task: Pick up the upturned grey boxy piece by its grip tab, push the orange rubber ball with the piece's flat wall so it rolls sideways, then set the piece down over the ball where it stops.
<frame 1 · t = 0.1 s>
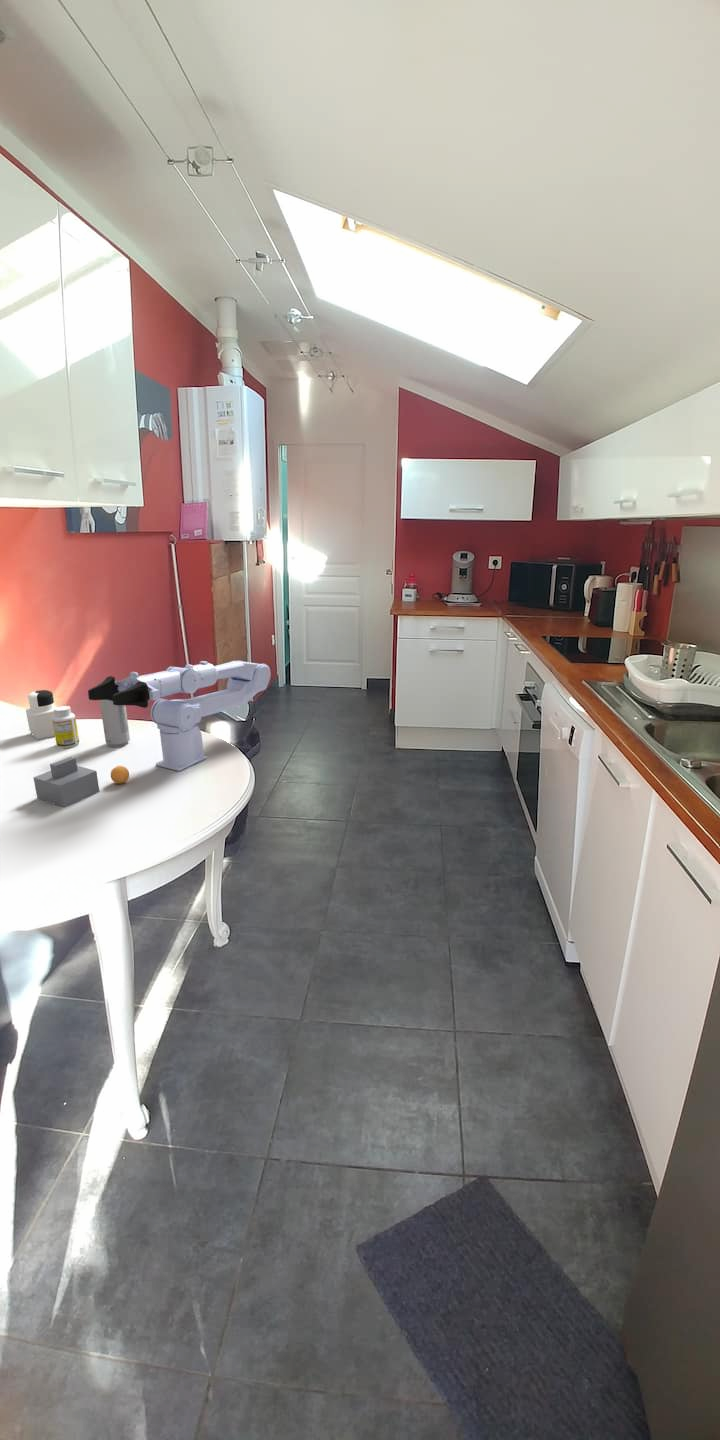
hand: (101, 697, 141), 22 cm above the table, tool horizontal, fingers open, 7 cm apart
supplement bottle: (68, 746, 177), on the table
grey boxy piece: (68, 794, 147), on the table
ball: (119, 774, 152), on the table
energy drink can: (118, 744, 177), on the table
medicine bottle: (47, 734, 185), on the table
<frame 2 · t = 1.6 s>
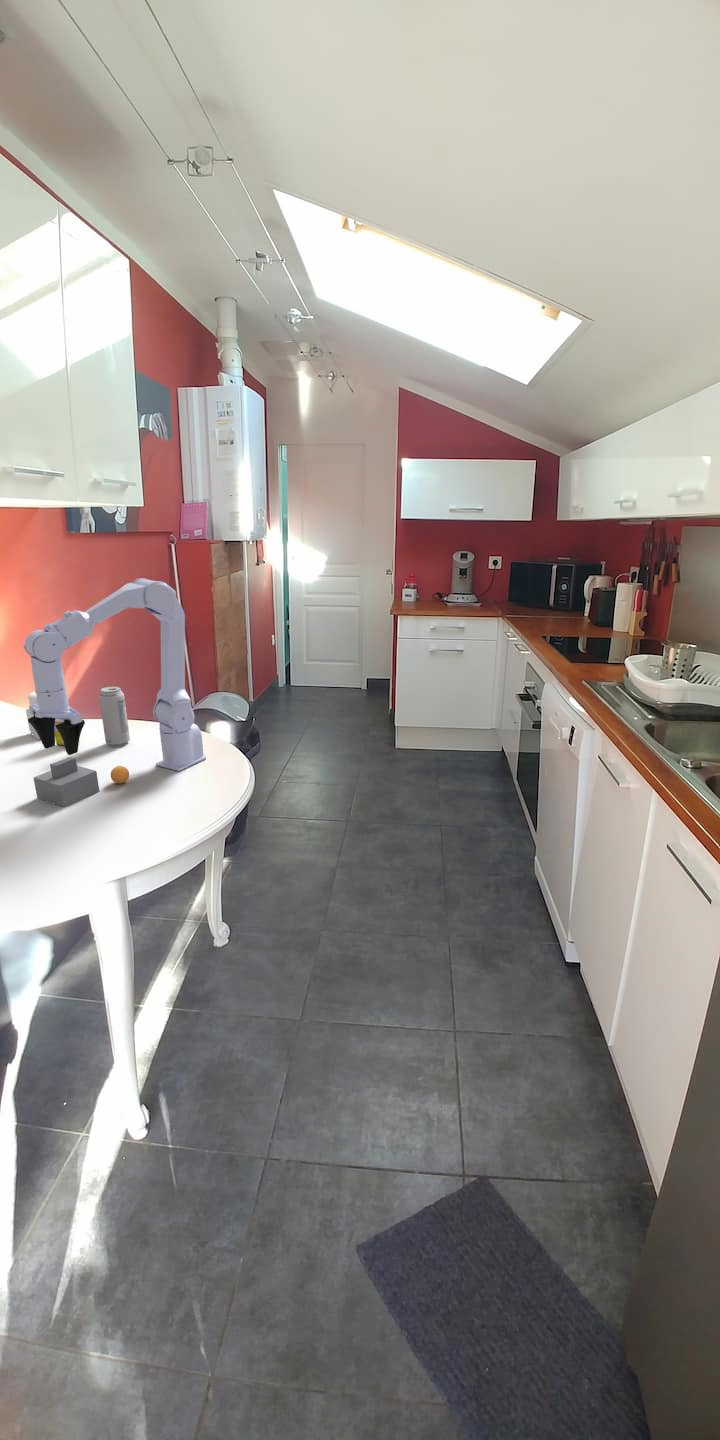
hand: (61, 750, 144), 10 cm above the table, tool pointing down, fingers open, 7 cm apart
nothing on the table moved.
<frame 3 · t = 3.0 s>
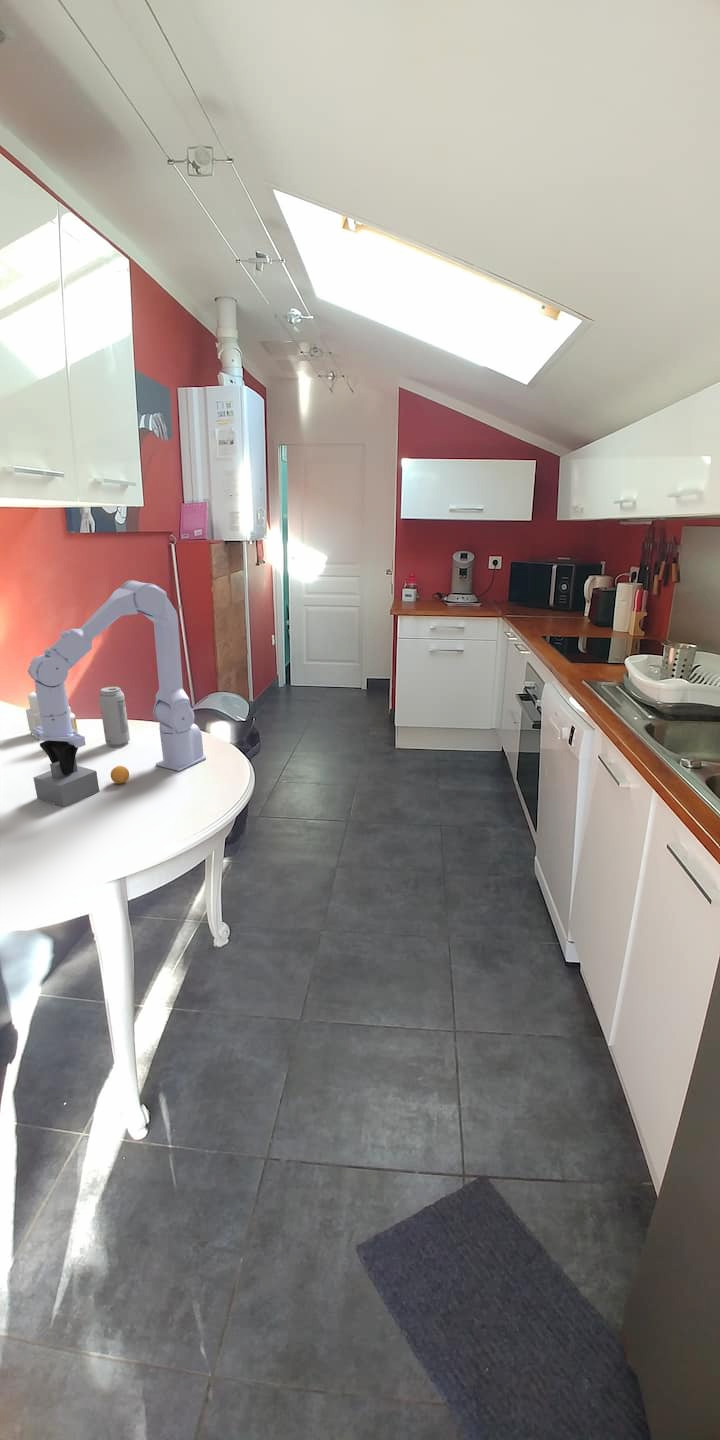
hand: (64, 772, 145), 5 cm above the table, tool pointing down, fingers closed on grey boxy piece
grey boxy piece: (68, 794, 147), on the table, touching gripper
everything else where it was.
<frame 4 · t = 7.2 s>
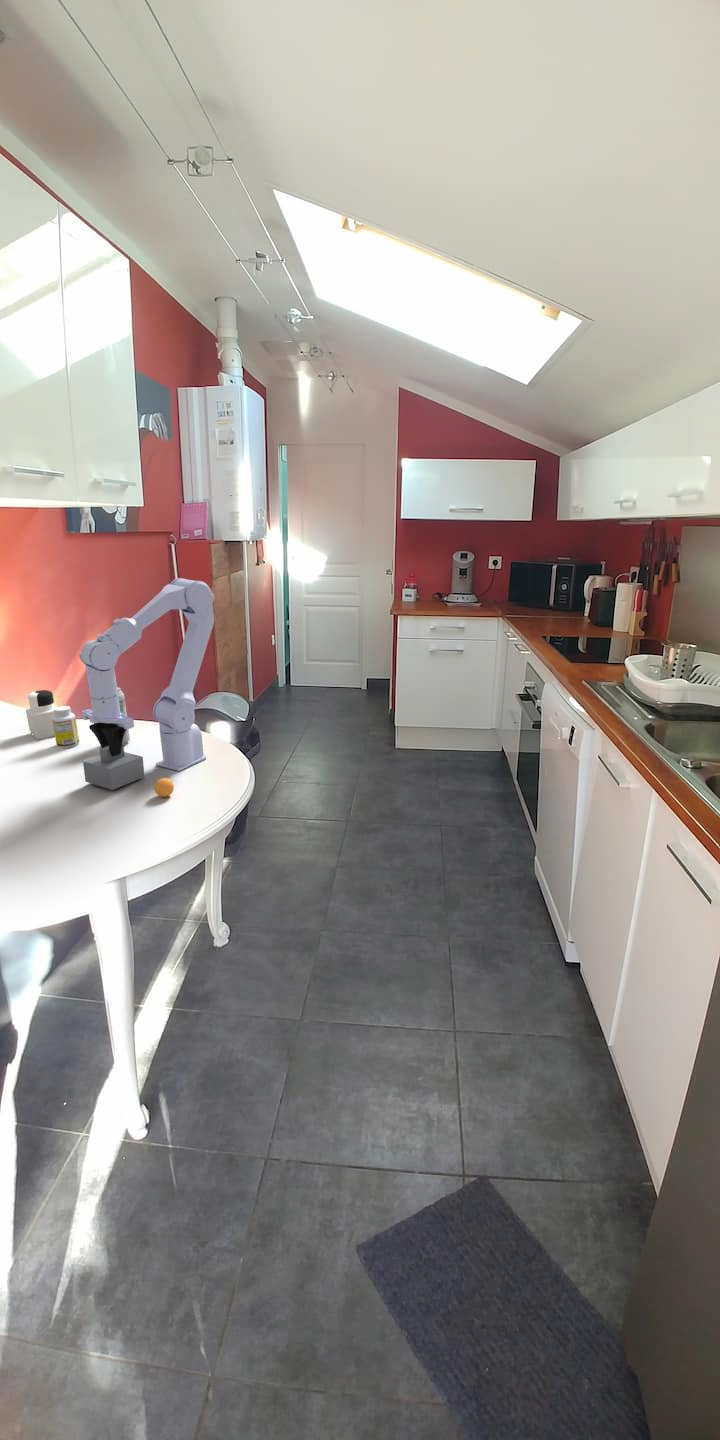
hand: (112, 753, 151), 7 cm above the table, tool pointing down, fingers closed on grey boxy piece
grey boxy piece: (115, 779, 153), point 1 cm above the table, touching gripper
ball: (164, 787, 145), on the table
everything else where it was.
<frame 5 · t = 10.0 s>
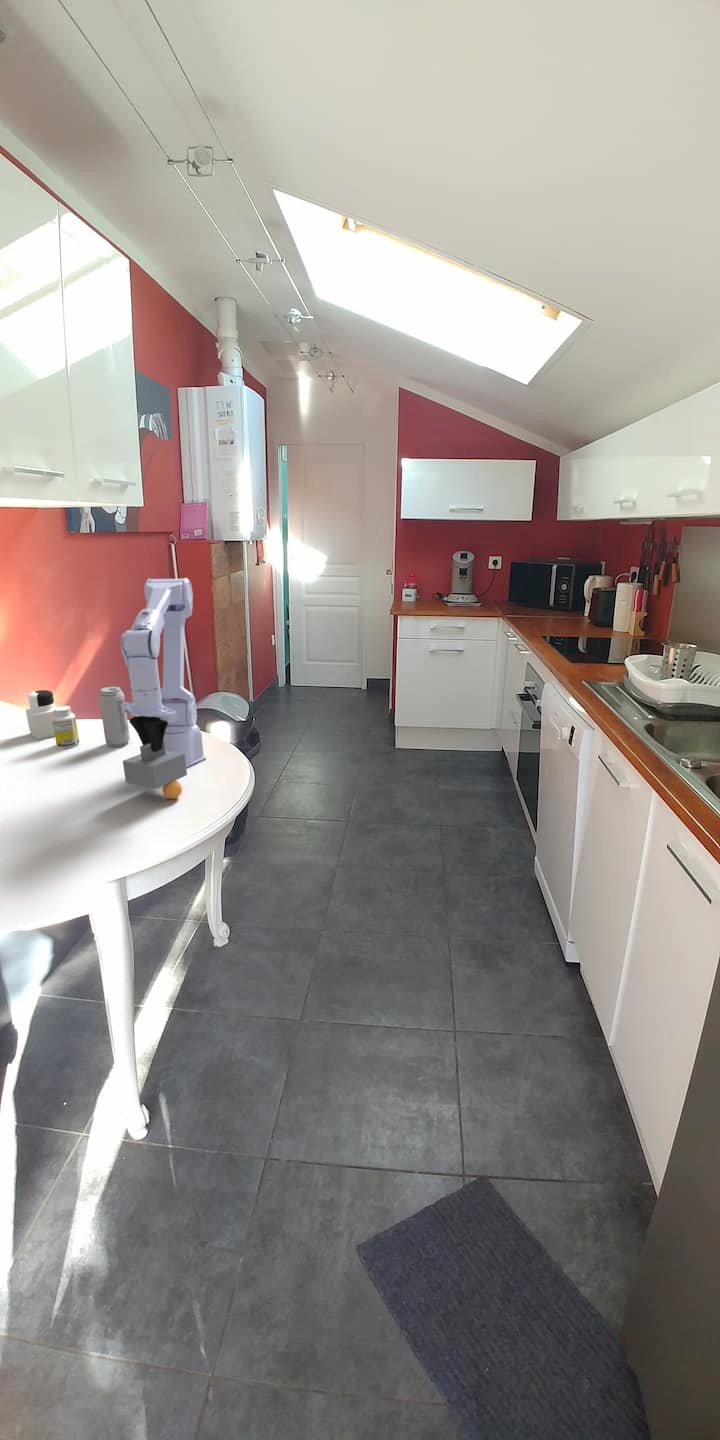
hand: (153, 749, 143), 10 cm above the table, tool pointing down, fingers closed on grey boxy piece
grey boxy piece: (156, 778, 145), point 4 cm above the table, touching ball, gripper
ball: (172, 789, 144), on the table, touching grey boxy piece
everything else where it was.
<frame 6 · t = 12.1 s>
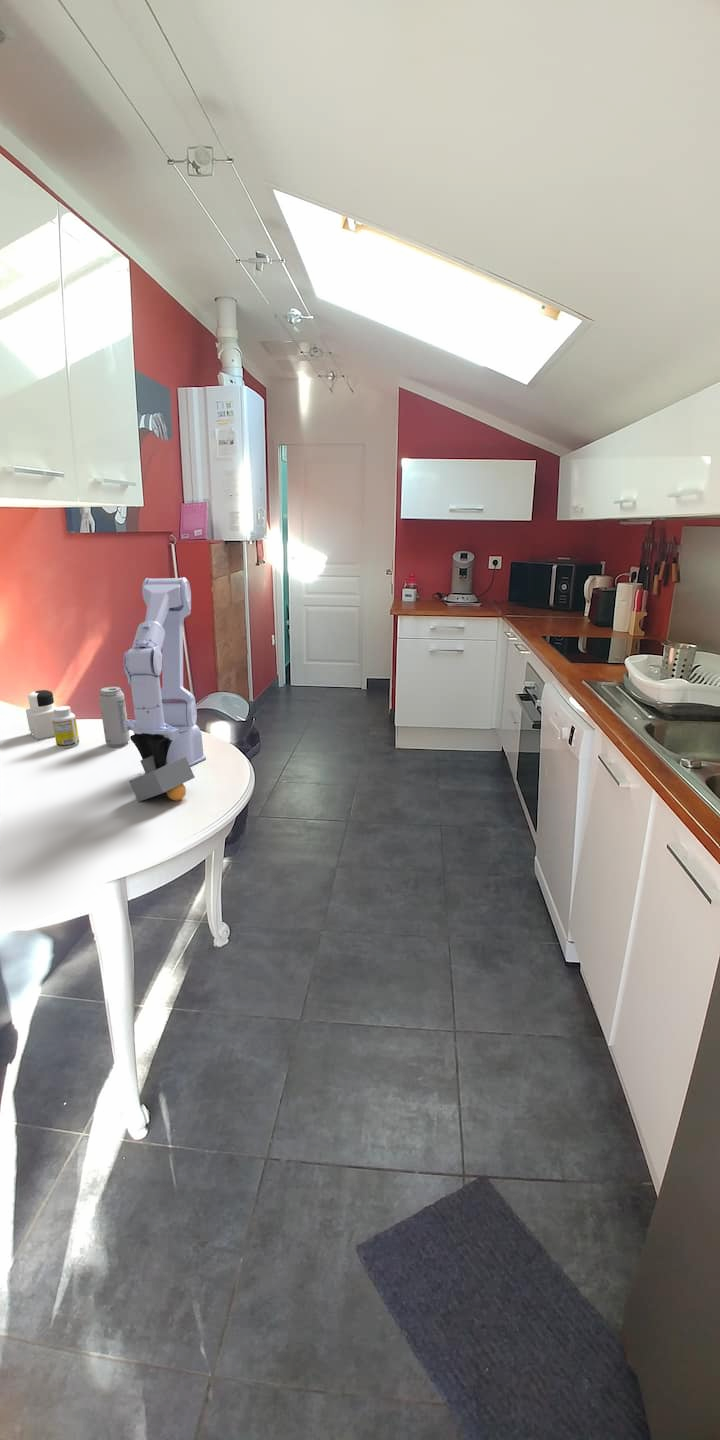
hand: (155, 766, 144), 7 cm above the table, tool pointing down, fingers closed on grey boxy piece, 3 cm apart
grey boxy piece: (166, 789, 144), point 2 cm above the table, tilted 26°, touching ball, gripper
ball: (176, 791, 143), on the table, touching grey boxy piece
everything else where it was.
when the fingers open (6 cm above the table, at t = 12.2 s): grey boxy piece moves 2 cm, resting on ball.
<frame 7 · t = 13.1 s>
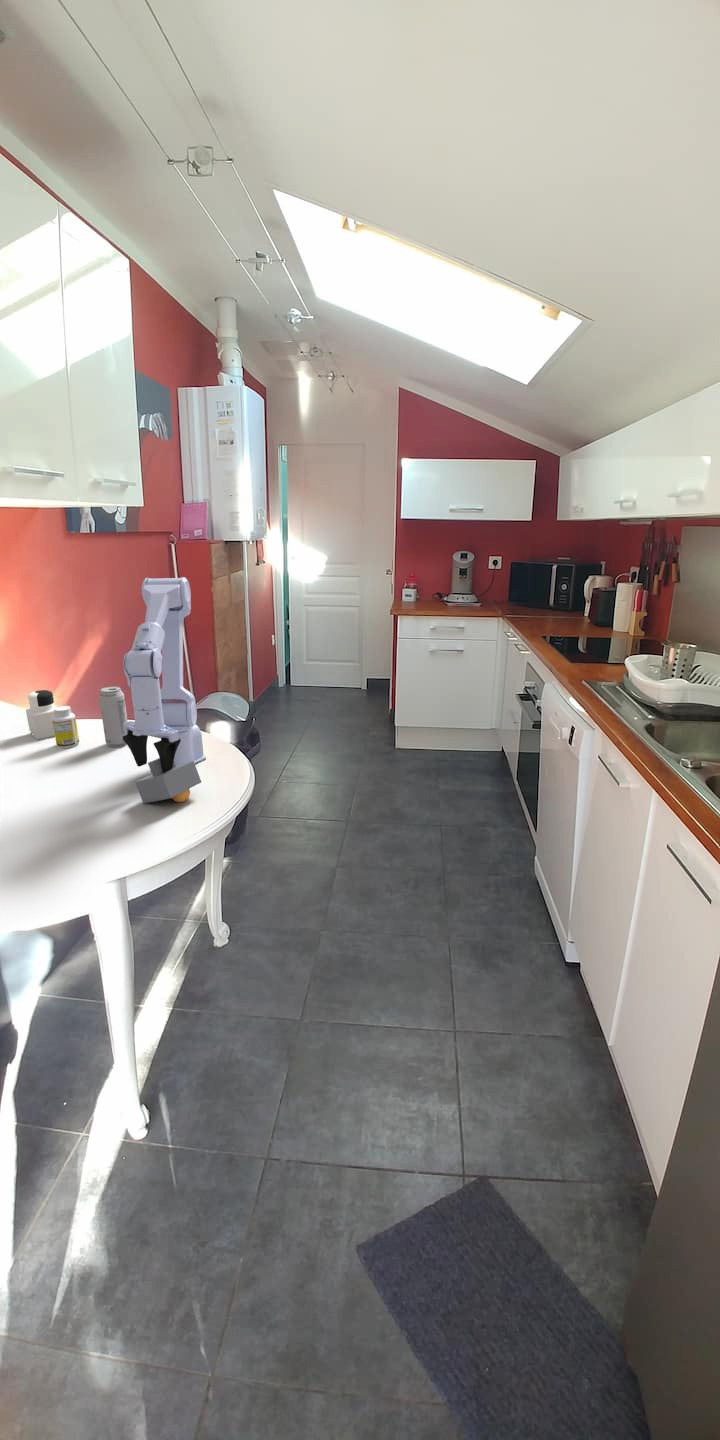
hand: (154, 768, 144), 6 cm above the table, tool pointing down, fingers open, 7 cm apart
grey boxy piece: (172, 792, 143), point 2 cm above the table, tilted 20°, touching ball, gripper
ball: (180, 792, 143), on the table, touching grey boxy piece
everything else where it was.
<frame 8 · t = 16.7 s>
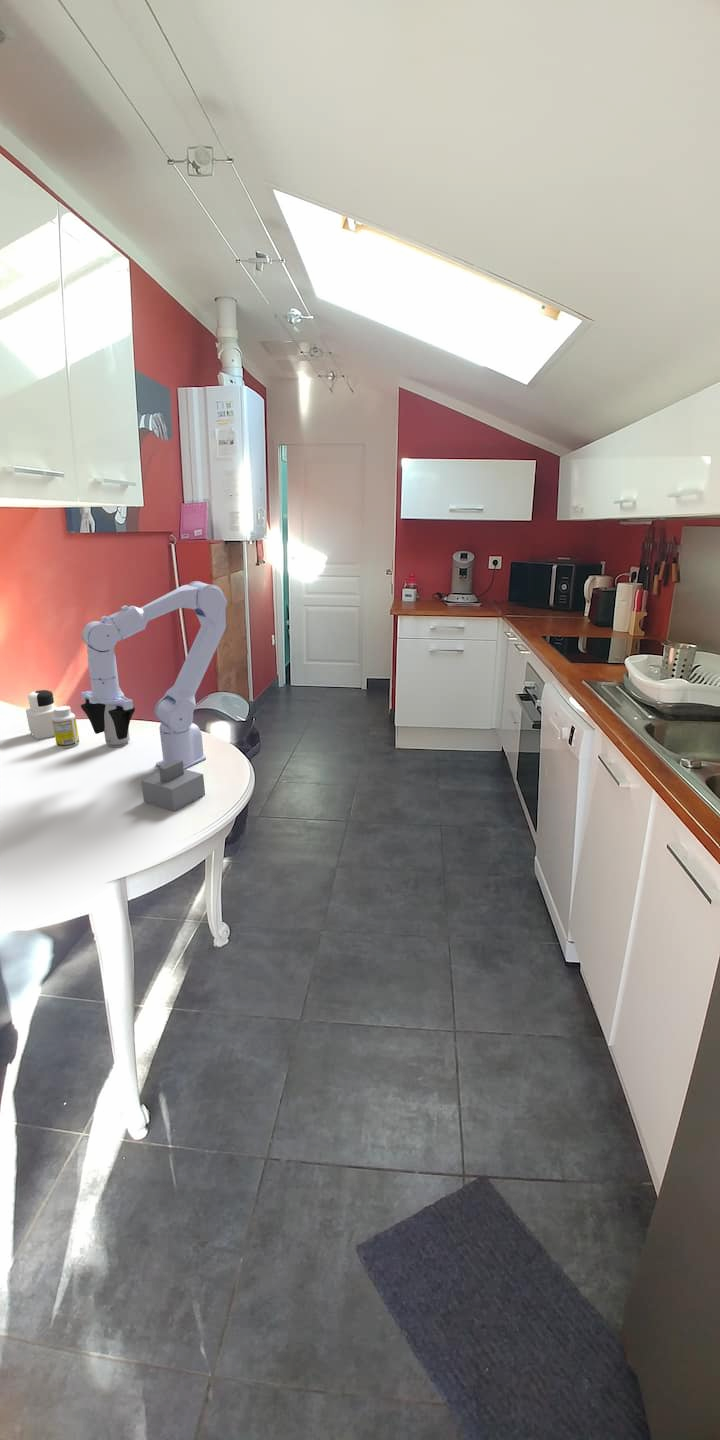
hand: (111, 735, 152), 10 cm above the table, tool pointing down, fingers open, 7 cm apart
grey boxy piece: (174, 798, 144), on the table
ball: (173, 787, 145), on the table
everything else where it was.
at the end: ball 1.0 cm from the grey boxy piece (horizontally); grey boxy piece on the table; ball moved 16.1 cm from its start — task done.
